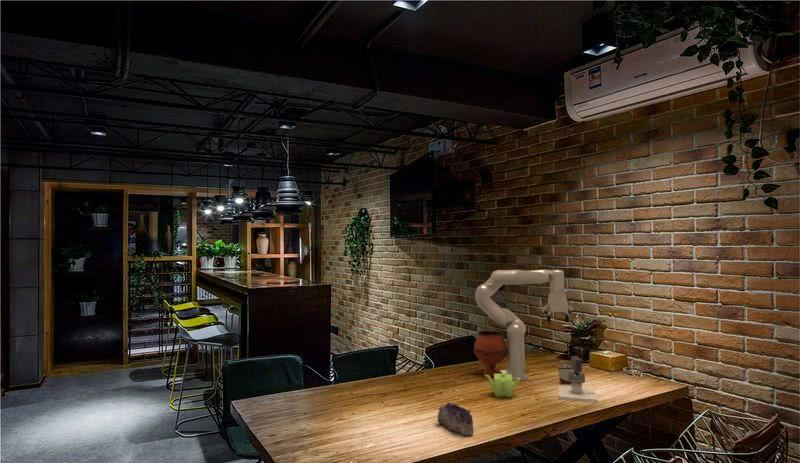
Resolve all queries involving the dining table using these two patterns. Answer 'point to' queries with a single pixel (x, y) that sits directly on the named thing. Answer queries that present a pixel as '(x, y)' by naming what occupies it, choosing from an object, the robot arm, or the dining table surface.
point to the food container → (564, 373)
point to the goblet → (490, 349)
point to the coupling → (576, 371)
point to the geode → (456, 419)
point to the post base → (576, 397)
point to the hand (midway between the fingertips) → (557, 322)
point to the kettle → (503, 384)
